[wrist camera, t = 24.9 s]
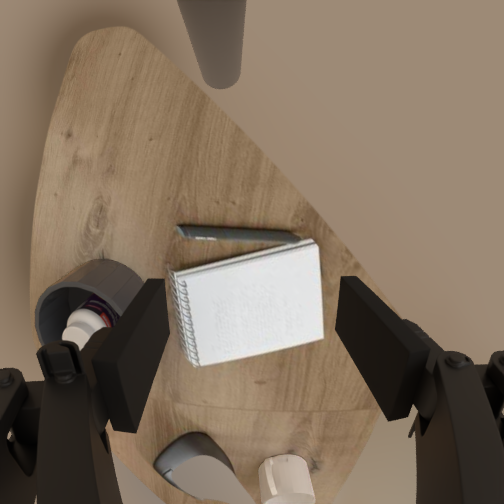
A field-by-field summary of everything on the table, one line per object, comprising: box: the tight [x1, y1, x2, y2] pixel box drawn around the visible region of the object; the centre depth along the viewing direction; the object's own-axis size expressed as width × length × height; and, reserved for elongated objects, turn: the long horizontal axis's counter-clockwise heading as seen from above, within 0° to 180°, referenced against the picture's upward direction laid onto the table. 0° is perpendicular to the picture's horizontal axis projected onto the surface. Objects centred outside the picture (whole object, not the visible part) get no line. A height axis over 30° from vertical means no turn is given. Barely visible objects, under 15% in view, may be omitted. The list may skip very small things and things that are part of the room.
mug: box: [258, 454, 316, 504], centre depth 44 cm, size 12×9×9 cm
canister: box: [35, 259, 144, 346], centre depth 35 cm, size 13×13×9 cm
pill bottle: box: [62, 293, 120, 350], centre depth 34 cm, size 5×5×10 cm
